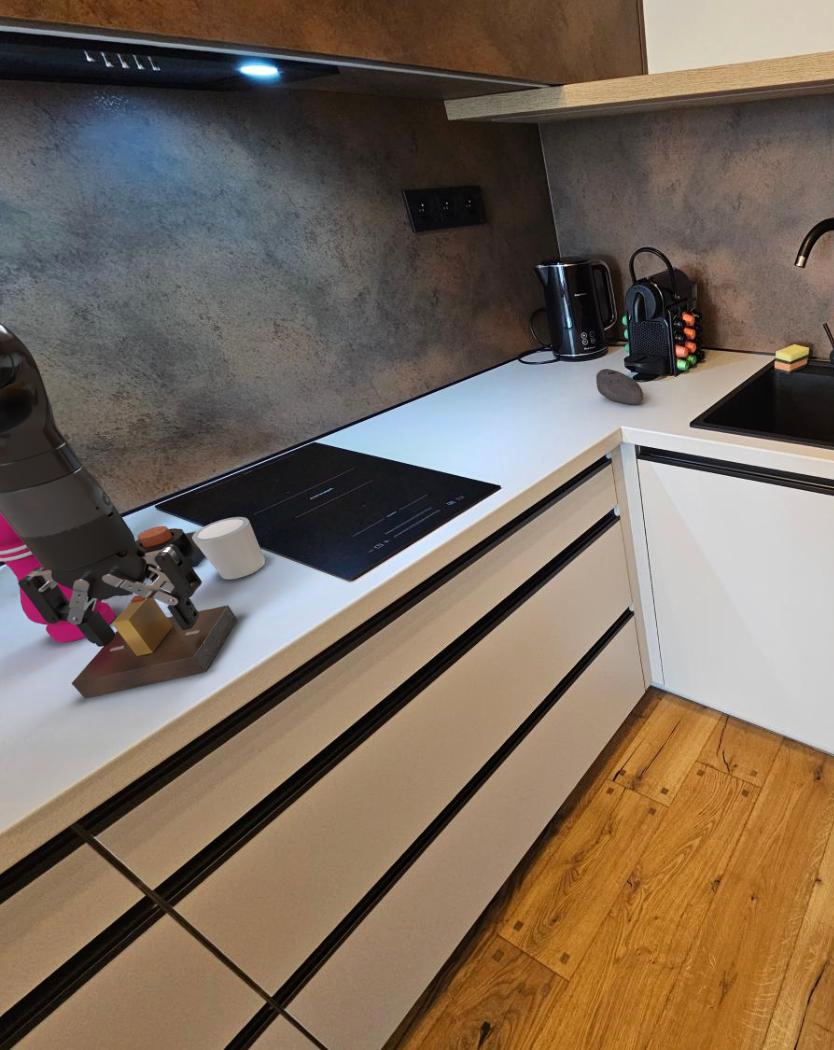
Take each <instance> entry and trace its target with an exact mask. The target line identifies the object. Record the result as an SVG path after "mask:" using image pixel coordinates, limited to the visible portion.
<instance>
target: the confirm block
mask: <svg viewBox="0 0 834 1050" xmlns="http://www.w3.org/2000/svg"><path fill="white" fill-rule="evenodd" d="M168 530H169V531H170V533H171V534H172V536H173V537H172V538H171V539H169V540H167V541H166V542H164V543H161V544H158V545H155V546H150V547H144V546H143V545H142V543H141V542H140V540H139V539H138V538H137V539H136V540H135V542H136V545H137V546H138V547H139V548H140V549H142V550H143V551H145V552H147V553H149V552H153V551H158V550H162V549H163V548H164V547H165V546H166V545H168V544H173V545H175V546H177V547H178V549H179V550H180V552H181V553H182V554H183V556H184V557H185V558H186V560H187V561H188V563H189V564H190V565H191V567H192V568H195V567H197V566H198V565H199V564H200V563H201V561H202V560H203V559H204V558H205V557H206V556H205V555H204V554H203V552H202V551H201V550H200V548H199V547H198V546H197V545H196V543H195V542H194V541H193V539H192V536H193V535H194V533H195V532H197V531H198V530H196V531H192V532H186V533H185V530H183V528H177V527H173V528H168ZM149 567H152V568H154V569H156V566H154V565H152V564H150V566H149ZM156 570H157V569H156ZM158 571H160V572H162V573H164V572H163V571H162V570H158Z"/></svg>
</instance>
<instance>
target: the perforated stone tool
mask: <svg viewBox="0 0 834 1050" xmlns="http://www.w3.org/2000/svg"><path fill="white" fill-rule="evenodd" d="M595 378H596V379H595V380H596V381H595V382H596V388H597V389H596V390H597V391H598V392H599V394H600V395H601V396H603V397H604V398H606V399H608V400H609V401H613V402H617V403H621V404H626V405H632V406H636V405H640V404H642V402H643V400H644V392H643V389H642V387H641V386H640V385H639V383H638V382H637V381H636V380H635V379H633V378H632V377H630V376H628V375H627V374H625V373H624V372H620V371H619V370H613V369H610V368H604V369H601V370H599V371H598V372H597V373H596V376H595Z"/></svg>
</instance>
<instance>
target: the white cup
mask: <svg viewBox="0 0 834 1050" xmlns="http://www.w3.org/2000/svg"><path fill="white" fill-rule="evenodd" d="M196 531H197V532H196ZM196 531H194V532H195V533H194V535H193V536H192V539H193V541H194V542H195V543H196V545H197V546H198V547H199V548H200V550H201V551H202V552H203V554H204V555H205V556H204V557H205V558H206V559H207V560H208V561H209V563H210V564H211V565H212V566H213V568H214V569H215V571H216V572H217V573H218V574H219V576H220V577H221V578H222V579H224V580H237V579H240V578H244V577H247V576H249V575H252V574H254V573H256V572H257V571H259V570H260V569H262V567H264V566H265V563H266V559H265V557H264V554H263V552H262V549H261V547H260V544H259V542H258V540H257V537H256V534H255V532H254V529H253V527H252V524H251V522H250V520H249V519H248V518H247V517H243V516H235V517H228V518H224V519H220V520H217V521H214V522H211V523H209V524H207V525H205V526H203V527H200V529H198V530H196Z"/></svg>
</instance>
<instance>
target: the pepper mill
mask: <svg viewBox="0 0 834 1050" xmlns="http://www.w3.org/2000/svg"><path fill="white" fill-rule="evenodd" d="M0 562H3V563H4V564H6V566H7V567H8V568H9V569H10V570H11V571H12V573H13V574H14V576H15V577H16V579H17V581H18V582H19V581H20V580H21V579H22V578H23V577H25V576H26V575H27V574H28V573H30V572H31V571H32V570H33V569H35V568H37V567H42V568H44V567H43V566H42V565H41V564H40V563H39V561H38V560H37V559H36V558H35V556H34V555H33V554H32V552H31V551H30V550H29V549H28V547H27V546H26V545H25V544H24V542H23V541H22V540H21V539H20V537H19V536H18V535H17V534H16V532H15V531H14V530H13V529H12V527H11V526H10V525H9V523H8V522H7V521H6V520H5V518H4V517H3V516H2V514H1V513H0ZM45 569H46V568H45ZM46 570H48V569H46ZM18 582H17V583H18ZM57 585H58V586H59V588H60V589H61V591H62V592H63V594H64V595H65V596H66V598H67V599H68V601H69V602H70V600H71V596H72V593H73V590H72V589H70V588H67V587H65V586H63V585H60V584H57ZM18 586H19V585H18ZM19 599H20V600H19V601H20V606H21V609H22V611H23V613H24V614H25V616H26V617H27V619H28V620H29V621H31V622H32V623H35V624H40V625H45V626H46V627H45V632H46V633H47V634H48V635H49V637H51V639H52V640H53V641H54V642H56V643H70V642H71V643H72V642H75V641H78V640H81V639H84V638H86V637H85V636H84V634H83V633H82V632H81V631H80V629H79V628H78V627H77V626H76V625H75V624H71V623H69V622H68V621H59V622H57V623H55V624H51V623H48V622H46V621H45V620H44V618H43V617H42V616H41V614H40V613H39V612H38V610H37V609H36V608H35V606H34V605H33V604H32V602H31V601H30V599H29V598H28V597H27V595H26V594H25V593H24V591H23V590H22V589H21V587H20V586H19ZM95 611H99V612H100V614H101V615H102V616H103V618H104V619H105V620H106V621H107V623H108V624H109V625H110V624H112V622H113V621H114V620H115V619H116V612H115V611H114V610H113V609H112V607H111V606H110V605H109V603H107V602H104V601H103V600H100V601H99V599H97V601H96V604H95V607H94V610H93V612H95Z"/></svg>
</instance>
